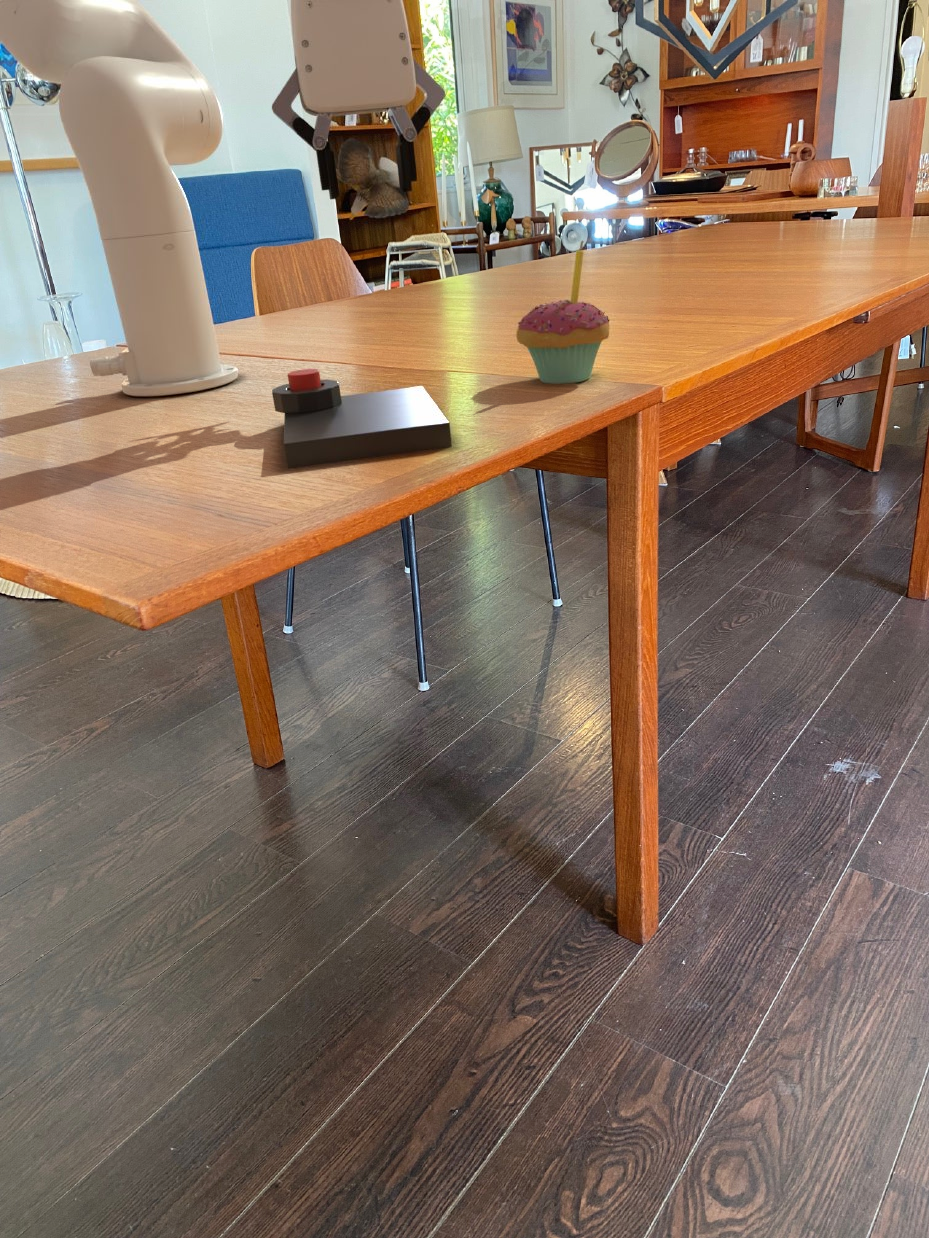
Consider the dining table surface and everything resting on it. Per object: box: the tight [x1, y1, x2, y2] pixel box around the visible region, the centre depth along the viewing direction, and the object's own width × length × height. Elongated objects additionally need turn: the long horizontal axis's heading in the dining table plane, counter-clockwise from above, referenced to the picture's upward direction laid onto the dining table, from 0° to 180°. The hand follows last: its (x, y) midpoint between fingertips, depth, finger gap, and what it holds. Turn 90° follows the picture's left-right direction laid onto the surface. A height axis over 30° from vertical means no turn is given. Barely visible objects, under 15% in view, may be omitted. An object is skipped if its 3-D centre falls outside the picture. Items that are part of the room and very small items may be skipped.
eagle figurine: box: [336, 137, 410, 221], centre depth 83 cm, size 8×7×9 cm
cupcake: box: [516, 240, 610, 385], centre depth 83 cm, size 9×8×12 cm
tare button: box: [286, 368, 322, 391], centre depth 75 cm, size 3×3×2 cm
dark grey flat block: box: [271, 379, 453, 469], centre depth 72 cm, size 13×15×4 cm
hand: (370, 193), depth 83 cm, fingers closed on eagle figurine, 6 cm apart
